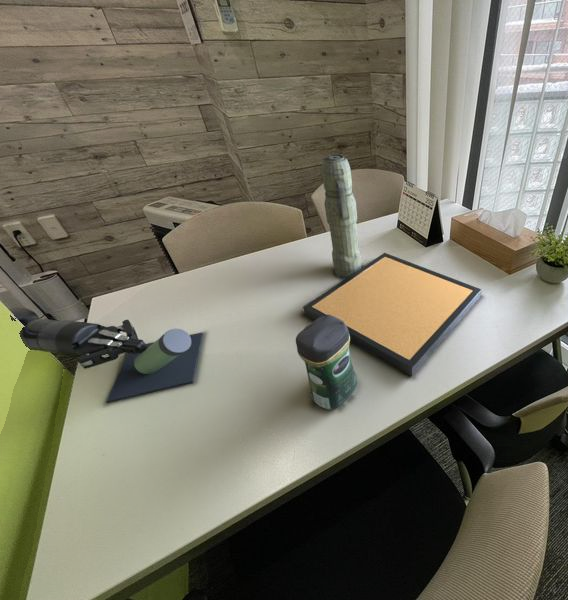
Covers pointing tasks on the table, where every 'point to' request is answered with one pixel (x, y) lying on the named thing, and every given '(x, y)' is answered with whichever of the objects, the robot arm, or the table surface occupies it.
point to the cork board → (397, 309)
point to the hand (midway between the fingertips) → (142, 347)
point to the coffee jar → (327, 361)
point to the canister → (163, 351)
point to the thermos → (341, 215)
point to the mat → (156, 374)
